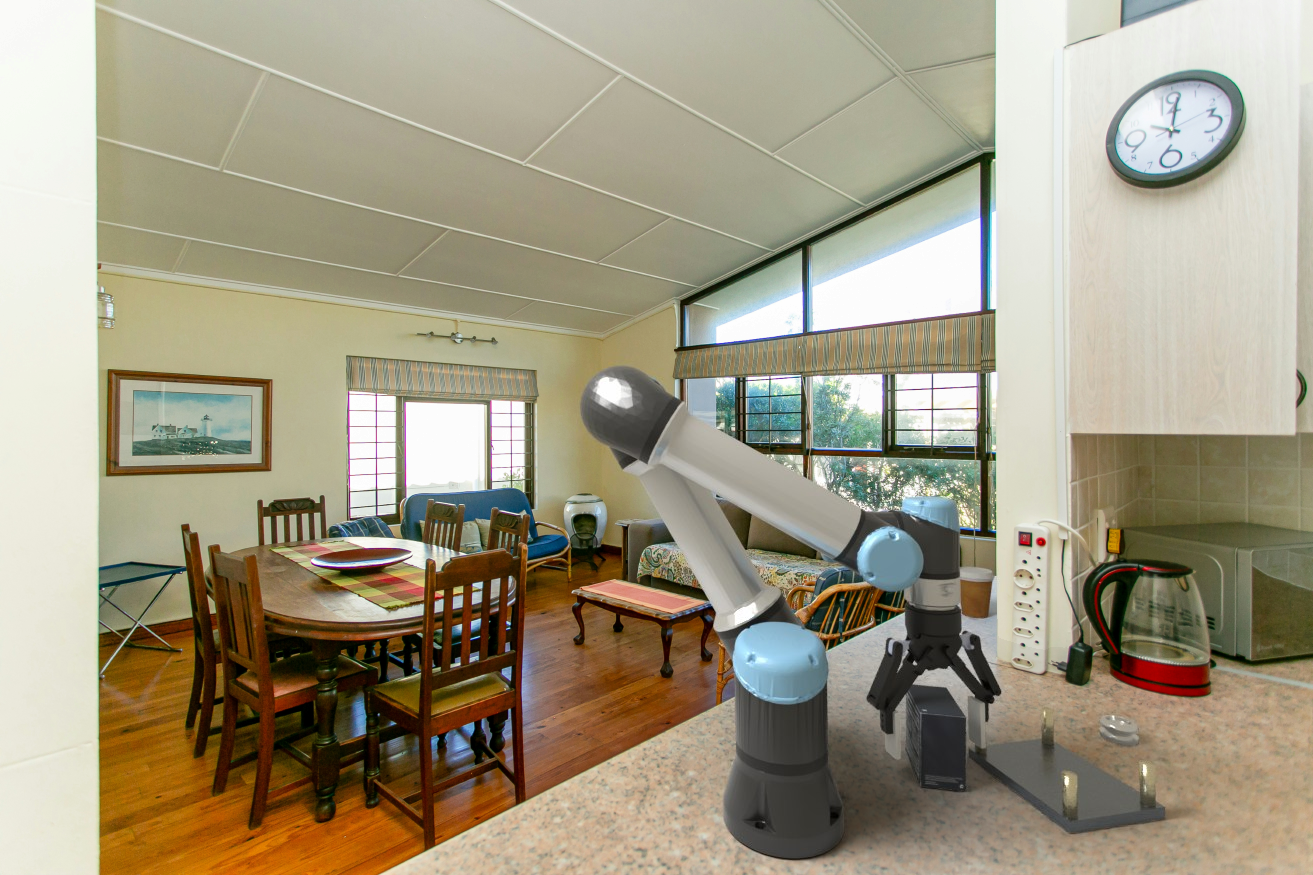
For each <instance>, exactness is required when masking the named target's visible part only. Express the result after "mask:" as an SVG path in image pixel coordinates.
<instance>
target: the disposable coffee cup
mask: <svg viewBox="0 0 1313 875" xmlns="http://www.w3.org/2000/svg"><path fill="white" fill-rule="evenodd" d="M995 577H996V576H995V575H994V572H993V570H991V569H989V568H984V567H977V566H960V586H961V603H960V609H961V615H963V616H965V617H970V618H973V619H974V618H976V619H985V617H986V618H988V617H989V613H990V605H991V598H992V587H993V582H994V579H995Z"/></svg>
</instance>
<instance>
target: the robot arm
mask: <svg viewBox="0 0 1313 875" xmlns="http://www.w3.org/2000/svg"><path fill="white" fill-rule="evenodd" d="M579 402H580V403H579V408H580V409H579V411H580V412H579V413H580V417H581V420H582V421H581V422H582V423H583V425H584V427H585V429H586V430H587V432H588V433H589V434H590V436H592V438H594V439H595V440H596V441H598V442H599V443H600V444H603V445H604V446H607V447H609V449H610V451H611V453H612V455H613V456H614V458H615V459H616V461H617V464H618V465H619V467H620V468H621V469H622V470H621V471H623V472H624V473H627V474H629V475H634V476H636V477H637V478H638V480H639V481H640V483H641V485H642V487H643V488H644V490H645V492H646V493H647V495H648V497H649V499H650V500H651V502H652V504H653V505H654V507H655V509H656V511H657V513H658V514H659V516H660V518H661V519H662V521H663V523H664V525H665V526H666V528H667V530H668V532H669V533H670V535H671V537H672V538H673V540H674V542H675V543H676V545H677V547H678V549H679V550H680V553H681V554H682V555H683V557H684V559H685V561H686V563H687V564H688V566H689V568H690V570H691V571H692V573H693V575H694V577H695V578H696V580H697V582H698V583H699V586H700V587H701V589H702V591H703V592H704V594H705V596H706V597H707V599H708V601H709V602H710V604H711V606H712V608H713V609H714V611H715V617H714V621H713V625H712V626H713V629H714V631H715V634H717V636H718V638H719V640H720V641H721V643H722V645H723V647H724V648H725V650H726V652H727V654H728V656H729V657H730V659H731V662H732V666H733V678H734V679H733V680H734V716H735V718H734V719H735V720H734V723H735V724H734V725H735V726H734V727H735V756H734V759H733V762H732V766H731V769H730V772H729V775H728V778H727V782H726V784H725V788H724V792H723V796H722V807H723V808H722V810H723V811H722V817H724V818H723V822H724V824H725V826H726V828H727V830H728V831H729V833H730V834H731V835H732V836H733V837H734V838H735V839H736V840H738V842H740V843H741V844H743V845H744V846H746V847H748V848H749V849H752V850H754V851H757V852H758V853H761V854H765V855H767V856H772V857H775V858H776V857H777V858H782V859H784V858H785V859H805V858H812V857H817V856H819V855H822V854H824V853H826V852H829V851H831V849H833V848H834V847H836V846H837V845H838V844H839V842H840V841H841V840H842V838H843V835H844V832H845V814H844V813H845V811H844V805H843V801H842V798H841V795H840V792H839V790H838V787H837V784H836V781H835V778H834V774H833V771H832V768H831V766H830V762H829V760H830V759H829V719H828V718H829V714H828V713H829V712H828V678H829V671H830V669H829V660H828V658H827V649H826V647H825V645H824V644H825V643H824V642H823V640H822V639H821V638H820V637H819V636H818V635H817V634H816V633H814V632H813V631H812V630H810V629H806V627H805V625H804V624H803V622H802V620H801V619H800V618H799V617H798V616H797V615H796V614H795V612H794V611H793V609H792V607H791V606H790V604H789V603H788V601H787V599H786V598H785V596H784V594H783V593H782V591H781V590H780V588H779V587H778V586H777V587H776V586H773V585H769V584H767V583H765V581H764V580H763V578H762V576H761V575H760V573H759V571H758V569H757V567H756V566H755V565H754V563H753V561H752V559H751V558H750V556H749V554H748V553H747V551H746V549H745V547H744V545H743V544H742V542H741V541H740V539H739V537H738V535H737V534H736V532H735V530H734V528H733V527H732V525H731V524H730V522H729V519H728V518H727V516H726V515H725V513H724V511H723V510H722V507H721V506H720V505H719V503H718V502H717V500H716V498H715V496H714V495H717V496H719V497H720V498H722V499H724V500H726V501H727V502H730V503H731V504H732V505H735V506H736V507H738V508H740V509H742V510H744V511H745V512H747V513H748V514H749V513H750V514H751V515H752V516H754V517H757V519H759V520H761V521H764V522H765V523H766V524H769V525H770V526H772V527H774V528H776V529H777V530H780V531H781V532H783V533H784V534H786V535H788V536H790V537H792V538H793V539H795V540H796V541H799V542H801V543H802V544H804V545H806V546H808V547H810V548H812V549H814V550H815V551H817V552H819V553H820V555H821V557H822V559H823V561H824V562H825V563H827V564H839V565H842V567H844V568H846V569H848V570H849V571H852V572H853V573H855V574H857V575H859V576H860V577H862V579H863V580H864V581H865V582H867V584H869V585H870V586H873V587H875V588H877V589H879V590H881V591H884V592H889V593H890V592H891V593H892V592H895V593H896V592H901V591H903V596H904V600H906V603H905V604H904V626H905V630H906V633H907V634H906V637H905V639H904V640H901V639H900V640H899V639H898V640H897V639H894V638H893V637H887V638H886V640H885V650H884V655H883V657H882V659H881V662H880V664H879V667H878V669H877V672H876V674H875V676H874V677H873V681H872V684H871V686H870V688H869V691H868V692H867V696H866V699H865V700H866V702H867V703H868V704H870V705H871V706H872V707H873V708H875V709H876V711H877V710H878V711H879V725H880V730H881V731H882V732H883V733H884V734H885V737H884V740H885V751H886V752H887V753H888V754H889V755H890V756H891V757H892V758H894V760H896V761H898V760H901V759H902V749H901V748H902V747H901V742H902V741H901V713H900V712H899V711H898V710H897V708H898V706H899V705H900V703H901V702H902V700H903V699H904V697H906V693H907V692H908V690H909V689H910V687H911V686H912V684H914V683H915V681H916V680H917V678H918V677H919V676H922V675H923V674H924V672H926V670H927V671H930V672H931V671H936V670H938V669H939V670H946V669H947V670H948V669H949V667H950V669H951V670H952V671H953V672H954V674H956V676H957V677H958V678H959V679H960V680H961V682H962V683H963V684H964V685H965V687H966V688H967V689H969V691H970V692H971V693H972V694H973V695H974V696H973V695H967V728H968V730H967V735H968V736H967V737H968V738H967V739H968V740H969V741H970V742H971V743H972V744H974V745H975V744H976V745H977V746H978V747H980V748H981V749H982V748H986V732H987V731H986V732H985V722H986V723H988V722H989V719H990V715H989V714H990V712H989V711H990V706H989V705H992V704H994V703H995V701H996V699H995V696H996V697H999V696H1001V694H1002V689H1001V687H1000V685H999V683H998V681H997V679H996V677H995V675H994V672H993V671H992V668H991V666H990V664H989V662H988V660H987V658H986V656H985V654H984V653H983V650H982V642H981V641H982V640H981V637H980V636H979V635H977V634H975V633H973V632H970V631H968V630H966V629H965V630H963V631H962V629H963V628H962V627H963V626H962V624H963V623H962V610H961V607H960V606H959V605H961V586H960V567H961V565H960V563H961V562H960V561H961V554H960V548H961V545H960V542H961V541H960V538H961V528H960V527H961V526H960V515H959V509H958V504H957V503H956V502H955V500H953V499H950V498H948V497H941V496H923V495H922V496H908V497H905V498H904V499H903V500H902V503H901V504H902V505H901V508H900V510H896V511H867V510H864V509H862V508H861V507H859V506H858V505H856V504H854V503H852V502H850V501H849V500H847V499H844V497H841V496H840V495H838V494H836V493H834V492H833V491H831V490H829V489H826V488H825V487H823V486H822V485H820V484H817V483H816V482H814V481H812V480H811V479H809V478H807V477H806V476H803V475H802V474H799V473H798V472H796V471H795V470H792V469H791V468H788V467H787V466H785V465H783V464H782V463H779V462H778V461H776V460H774V459H773V458H771V457H769V456H767V455H765V454H763V453H762V452H760V451H758V450H757V449H754V448H752V447H751V446H749V445H747V444H745V443H743V442H742V441H740V440H738V439H737V438H734V437H732V435H729V434H727V433H725V432H724V431H722V430H720V429H718V428H716V427H714V426H712V425H711V424H709V423H707V422H705V421H704V420H702V419H700V418H698V417H696V416H694V415H693V414H691V413H690V412H689V410H688V407H687V404H686V402H685V401H683V400H682V399H679V398H677V397H676V396H674V395H673V394H671V393H669V392H668V391H667V390H666V389H665V387H664V386H663V385H661V383H660V382H659V381H657V379H655V378H653V377H652V376H650V375H648V374H647V373H646V372H644V371H642V370H641V369H638V368H636V367H633V366H631V365H630V366H628V365H615V366H614V365H613V366H609V367H606V368H603V369H602V370H600V371H599V372H597V373H595V374H594V376H592V377H591V378H590V380H588V382H587V383H586V385H585V386H584V388H583V391H582V393H581V396H580V401H579ZM713 494H714V495H713ZM961 648H963V650H964V652H965V653H966V655H967V657H968V661H969V662H970V664H971V666H972V668H973V670H974V672H975V674H976V676H977V677H976V676H975V675H974V674H973V673H972V672H971V671H970V669H969V668H968V667H967V664H966V663H965V662H964V661H963V659H962V658H961V657H960V656H959V654H958V653H959V651H960V650H961ZM906 651H907V654H906ZM903 657H904V658H903ZM902 659H903V660H902ZM914 662H915V664H914ZM901 664H902V665H901ZM900 666H901V667H900ZM977 678H978V679H977Z"/></svg>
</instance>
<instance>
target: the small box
mask: <svg viewBox="0 0 1313 875" xmlns="http://www.w3.org/2000/svg"><path fill="white" fill-rule="evenodd" d="M904 746H905V747H904V750H905V754H906V755H907V758H908V761H909V763H910V766H911V768H912V771H913V773H914V776H915V780H916V781H917V783H918V786H919V787H920V788H929V789H938V790H947V791H957V792H967V716H966V715H965V713H964V712H963V710H962V708H960V705H959V704H958V703H957V701H956V700H955V698H954V697H953V695H952V694H951V692H950V690H948V688H947V687H946V686H945V687H944V686H934V685H925V684H914V683H913V684H912V686H911V687H910V689H909V690H908V692H907V693H906V694H905V745H904Z"/></svg>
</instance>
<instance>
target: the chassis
mask: <svg viewBox="0 0 1313 875" xmlns="http://www.w3.org/2000/svg"><path fill="white" fill-rule="evenodd" d="M1040 716H1041V717H1040V723H1041V724H1040V725H1041V729H1040V732H1041V738H1033V739H1032V738H1031V739H1025V740H1017V741H1009V742H1001V743H994V744H993V743H992V744H988V741H987V740H988V738H987V737H988V735H987V732H988V731H987V722H985V732H986V748H982V749H981V748H980V747H978V746H977V745H976V744H974V746H968V748H967V758H969V759H970V760H971V761H972V762H974V763H975V764H977V765H978V766H979V767H980V768H982V769H983V770H984V771H986V772H987V773H989V774H990V775H991V776H993V777H994V778H995V779H996V780H998V781H999V782H1001V783H1002V784H1003V785H1005V787H1007V788H1008V789H1010V790H1011V791H1012V792H1014V793H1016V795H1018V796H1019V797H1020V798H1021V799H1024V800H1025V802H1027V803H1029V804H1030V806H1033V807H1034V808H1035V809H1036V810H1038V811H1039V812H1040V813H1042V814H1043V815H1044V816H1045V817H1046V818H1048V819H1050V820H1051V821H1052V822H1054V824H1057V825H1058V826H1059V827H1061V829H1063V830H1064V831H1065V832H1067V833H1069V834H1070V835H1072V834H1079V833H1084V832H1091V831H1092V832H1093V831H1096V830H1104V829H1110V828H1117V827H1122V826H1123V827H1124V826H1128V825H1134V824H1136V825H1137V824H1140V823H1148V822H1153V821H1160V820H1166V806H1164V805H1162V804H1161V803H1160V802H1157V784H1156V783H1157V781H1156V780H1157V779H1156V777H1157V775H1156V773H1157V772H1156V771H1157V770H1156V769H1157V768H1156V767H1157V766H1156V764H1155V763H1154V762H1152V761H1150V760H1146V759H1140V760H1139V762H1138V765H1139V769H1138V771H1139V790H1137V789H1135V787H1133V786H1130V785H1129V784H1128V783H1126V782H1125V781H1123V780H1121V779H1119V778H1117V777H1116V776H1114V775H1112V774H1111V773H1109V772H1108V771H1105V770H1104V769H1102V768H1100V767H1099V766H1097V765H1096V764H1094V763H1092V762H1091V761H1089V760H1088V759H1085V758H1083V757H1082V756H1080V755H1078V754H1077V753H1075V752H1073V751H1072V750H1070V749H1069V748H1067V747H1065V746H1063V745H1061V744H1060V743H1058V742H1057V741H1055V728H1054V726H1055V724H1054V720H1055V719H1054V716H1055V714H1054V708H1053V709H1052V708H1050V707H1045V706H1042V707H1040Z"/></svg>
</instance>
